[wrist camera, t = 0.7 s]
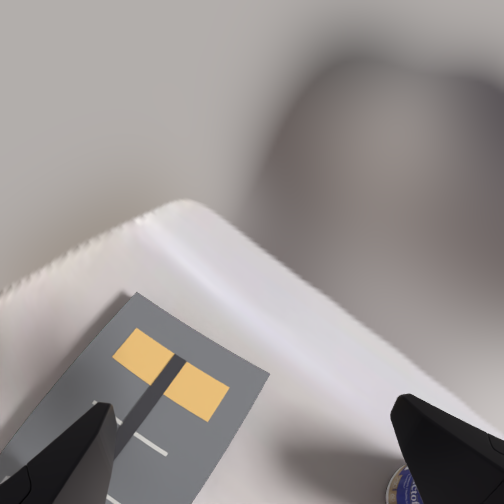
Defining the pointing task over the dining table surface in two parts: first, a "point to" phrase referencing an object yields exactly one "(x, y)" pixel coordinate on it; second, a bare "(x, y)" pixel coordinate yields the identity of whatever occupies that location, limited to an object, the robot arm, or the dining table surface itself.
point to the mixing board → (149, 404)
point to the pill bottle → (402, 488)
